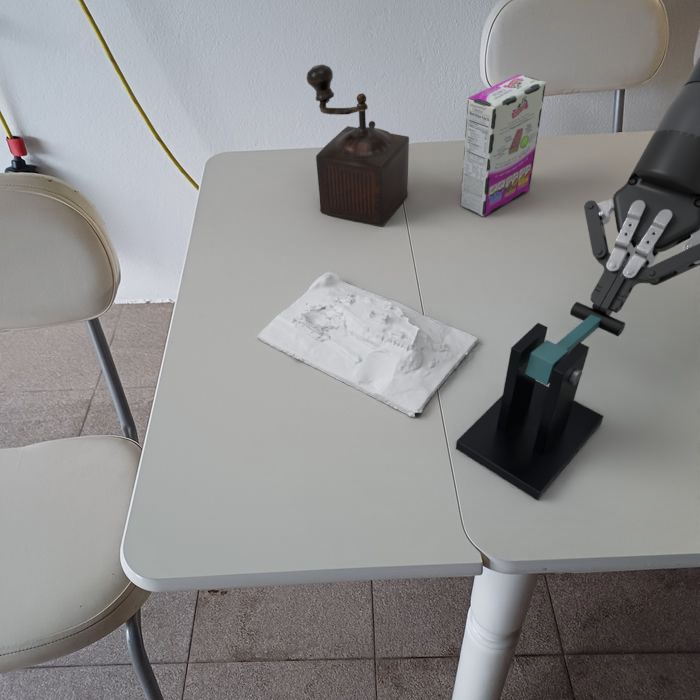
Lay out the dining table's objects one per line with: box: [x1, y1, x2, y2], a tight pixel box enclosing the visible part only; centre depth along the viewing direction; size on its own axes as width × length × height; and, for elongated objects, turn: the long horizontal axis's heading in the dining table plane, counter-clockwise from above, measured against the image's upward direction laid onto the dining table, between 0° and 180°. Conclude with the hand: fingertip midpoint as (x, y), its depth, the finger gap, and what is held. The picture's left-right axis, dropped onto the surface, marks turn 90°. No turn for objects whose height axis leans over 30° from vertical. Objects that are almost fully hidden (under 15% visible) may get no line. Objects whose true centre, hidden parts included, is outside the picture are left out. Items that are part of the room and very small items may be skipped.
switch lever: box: [525, 301, 626, 386], centre depth 59 cm, size 12×5×2 cm, turn 137°
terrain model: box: [257, 271, 479, 418], centre depth 73 cm, size 17×23×5 cm
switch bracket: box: [455, 322, 604, 501], centre depth 59 cm, size 12×9×12 cm
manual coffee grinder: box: [306, 64, 410, 227], centre depth 92 cm, size 16×11×18 cm
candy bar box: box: [459, 74, 547, 218], centre depth 91 cm, size 11×5×16 cm, turn 132°
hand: (600, 311), depth 63 cm, fingers closed
